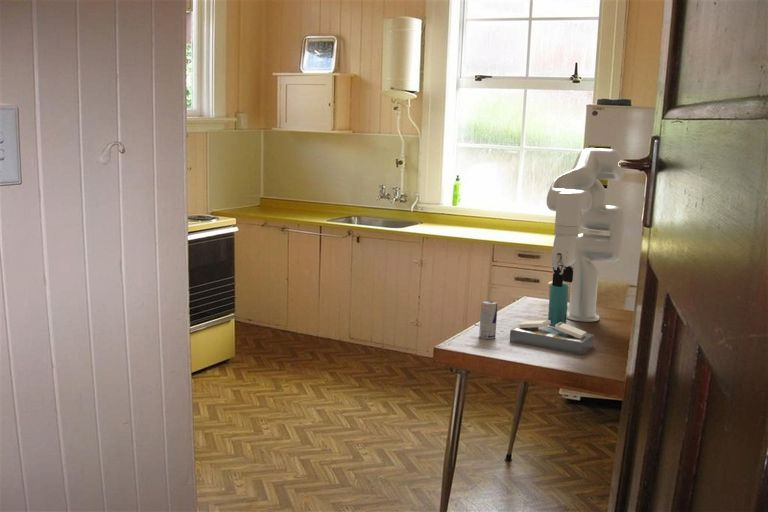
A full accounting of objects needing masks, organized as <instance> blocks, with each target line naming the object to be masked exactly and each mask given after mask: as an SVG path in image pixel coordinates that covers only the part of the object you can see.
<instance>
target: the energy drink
mask: <svg viewBox="0 0 768 512" xmlns="http://www.w3.org/2000/svg"><path fill="white" fill-rule="evenodd" d="M497 316H498V302H497V301H495V300H482V301H481V304H480V318H479V320H480V321H479V332H478V333H479V335H478V336H479V337H481V338H480V339H483V340H494V339H495V338H496V335H497V334H496V333H497Z"/></svg>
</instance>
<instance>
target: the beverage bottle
mask: <svg viewBox="0 0 768 512" xmlns="http://www.w3.org/2000/svg"><path fill="white" fill-rule="evenodd" d="M562 274H563V273H562ZM549 287H550V288H549V298H548V299H549V300H548V312H547V320H550V321H551V324H550V325H548V327H553V328H554V327H555V325H556V324H558V323H560V322H562V323H564V324H567V321H568V320H567V319H568V318H567V312H568V310H569V307H568V304H569V303H568V300H569V299H568V298H569V297H568V296H569V288H570V287H569V285H568V284H567V282H563V286H562V287H556V286H552V283H551V284H550V286H549Z"/></svg>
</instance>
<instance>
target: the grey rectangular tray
mask: <svg viewBox="0 0 768 512" xmlns="http://www.w3.org/2000/svg"><path fill="white" fill-rule="evenodd" d="M509 331H510V333H509V342H510V343H514V344H520V345H525V346H531V347H537V348H543V349H545V350H546V349H547V350H551V351H558V352H563V353H568V354H573V355H578V356H582V355H583V354H585V353H586V352H587V351H589V350H590V349H592V348H593V346H594V340H595V339H594V338H595V335H594V334H593V333H587V332H586V335H585V336H584V337H583V338H581V339H580V338H577V337H574V336H572V335H569V334H567V333H564V332H562V331H559V330H557V329H554V327H551V326H549V325H548V326H546V327H530V328H519V324H518V325H516V326H515V327H513V328H511V329H510V330H509Z"/></svg>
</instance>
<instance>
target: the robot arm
mask: <svg viewBox="0 0 768 512" xmlns="http://www.w3.org/2000/svg"><path fill="white" fill-rule="evenodd" d="M624 159H625V158H623V155H621V152H620V151H618V150H617V149H614V148H613V149H612V148H601V147H600V148H596V147H587V148H583V149H582V150H580V152H579V153H578V154H577V156H576V159H575V162H574V165H573V167H572V168H571V170H570V171H567V172H565V173H563V174H561V175H560V176H557V177H556V178H555V179H554V180H553V181H552V183H551V185H550V187H549V189H548V192H547V196H546V206H547V208H548V209H549V210H550V211H552V212H555V218H554V220H555V221H554V233H553V235H555V236H554V238H553V239H554V240H553V245H552V251H551V252H552V253H551V258H550V265H551V266H552V270H553V271H552V283H551V284H552V286H556V287H562V286H563V283H570V295H569V306H568V310H567V319H568V320H571V321H576V322H584V323H592V322H593V323H594V322H597V321H599V320H600V315H599V314H597V313H596V309H597V298H598V297H597V296H598V286H599V275H600V274H599V269H598V267H597V265H596V264H595V261H596V262H599V261H600V262H606V263H616V262H618V261H619V260H620V257H621V253H622V248H623V247H622V246H623V236H624V227H625V213H624V209H622V208H621V207H620V206H616V205H610V204H609V205H606V204H605V203H606V202H605V201H606V195H607V193H606V192H607V191H606V188H605V187H604V185H603V183H602V182H601V181H600V180H604V181H620V180H621V179H623V177H624V175H625V172H626V168H625V169H624V168H621V167H619V166H618V162H619V161H620V160H624ZM624 161H625V160H624ZM580 228H581V229H584V230H589V231H597V232H607V233H609V235H605V234H596V233H589V232H588V233H586V232H584V233H583V232H582V233H579V232H580ZM562 273H563V274H562Z"/></svg>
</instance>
